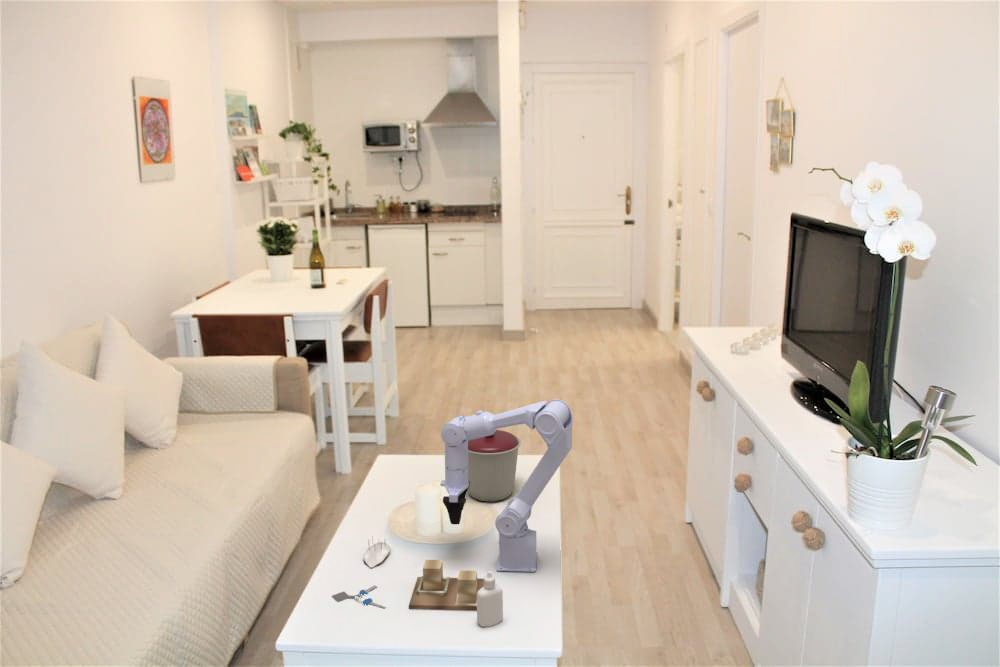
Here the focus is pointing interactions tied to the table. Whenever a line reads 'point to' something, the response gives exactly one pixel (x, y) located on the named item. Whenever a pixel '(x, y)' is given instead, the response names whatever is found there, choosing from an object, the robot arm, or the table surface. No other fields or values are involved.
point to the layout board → (449, 593)
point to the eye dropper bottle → (489, 603)
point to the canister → (492, 465)
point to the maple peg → (433, 575)
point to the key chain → (344, 596)
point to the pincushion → (376, 553)
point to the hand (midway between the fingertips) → (457, 516)
